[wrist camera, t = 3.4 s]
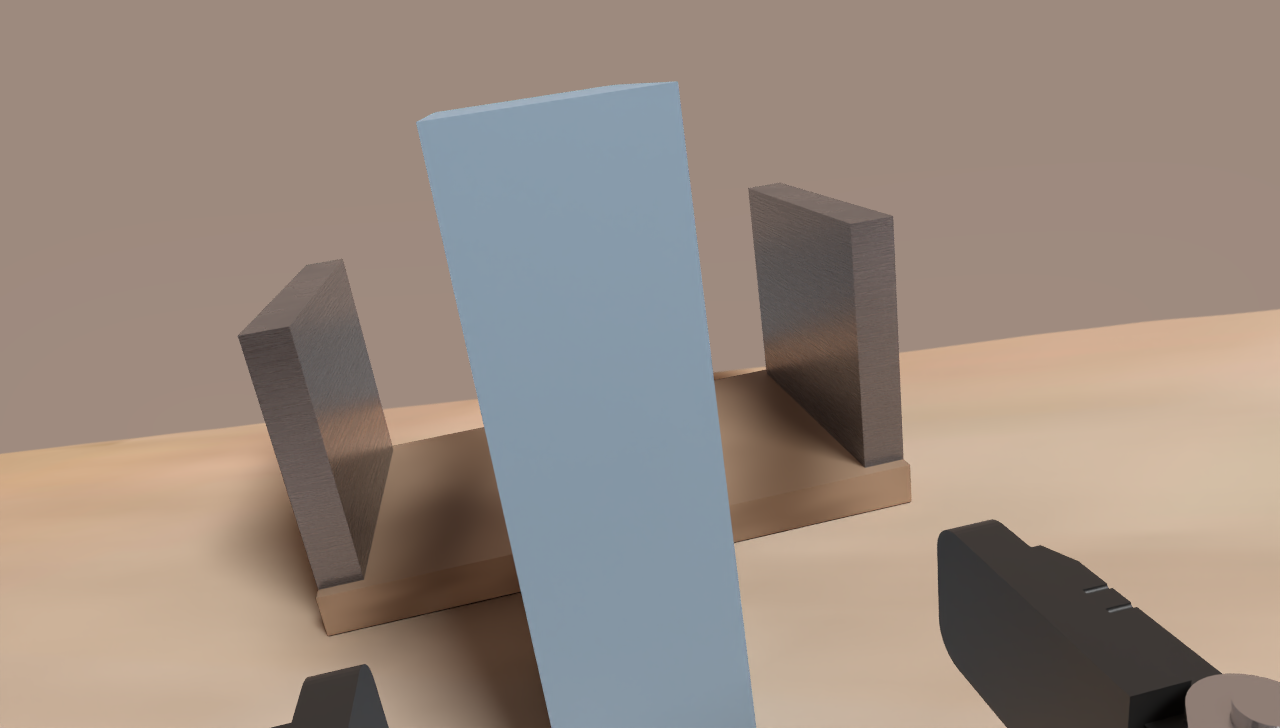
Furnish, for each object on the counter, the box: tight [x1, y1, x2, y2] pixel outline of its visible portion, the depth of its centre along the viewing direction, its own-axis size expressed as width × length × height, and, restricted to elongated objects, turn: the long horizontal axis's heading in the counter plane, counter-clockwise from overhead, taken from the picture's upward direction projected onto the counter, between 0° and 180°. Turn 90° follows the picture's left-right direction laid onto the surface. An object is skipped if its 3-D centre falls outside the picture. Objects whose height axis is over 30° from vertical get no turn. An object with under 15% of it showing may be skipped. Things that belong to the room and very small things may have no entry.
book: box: [416, 82, 756, 728], centre depth 20 cm, size 4×7×16 cm, turn 11°
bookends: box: [238, 183, 903, 590], centre depth 33 cm, size 21×11×9 cm, turn 101°
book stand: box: [316, 370, 911, 636], centre depth 35 cm, size 21×12×2 cm, turn 101°
